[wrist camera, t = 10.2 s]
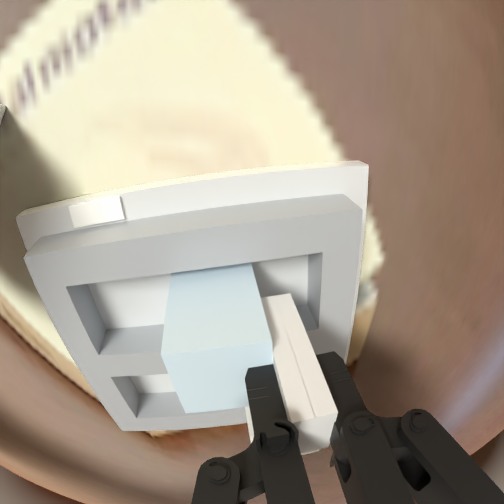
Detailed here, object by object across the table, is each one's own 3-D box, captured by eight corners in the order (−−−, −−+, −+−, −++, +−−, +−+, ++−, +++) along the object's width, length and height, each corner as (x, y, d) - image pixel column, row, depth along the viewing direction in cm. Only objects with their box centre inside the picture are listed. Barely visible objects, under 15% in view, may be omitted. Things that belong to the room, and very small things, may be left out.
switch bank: (118, 406, 24) (113, 438, 21) (24, 209, 15) (-6, 235, 12) (336, 379, 26) (349, 410, 23) (359, 160, 17) (391, 177, 14)
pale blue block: (187, 315, 19) (185, 413, 12) (173, 258, 17) (160, 354, 10) (253, 307, 19) (274, 402, 13) (247, 248, 17) (272, 340, 11)
